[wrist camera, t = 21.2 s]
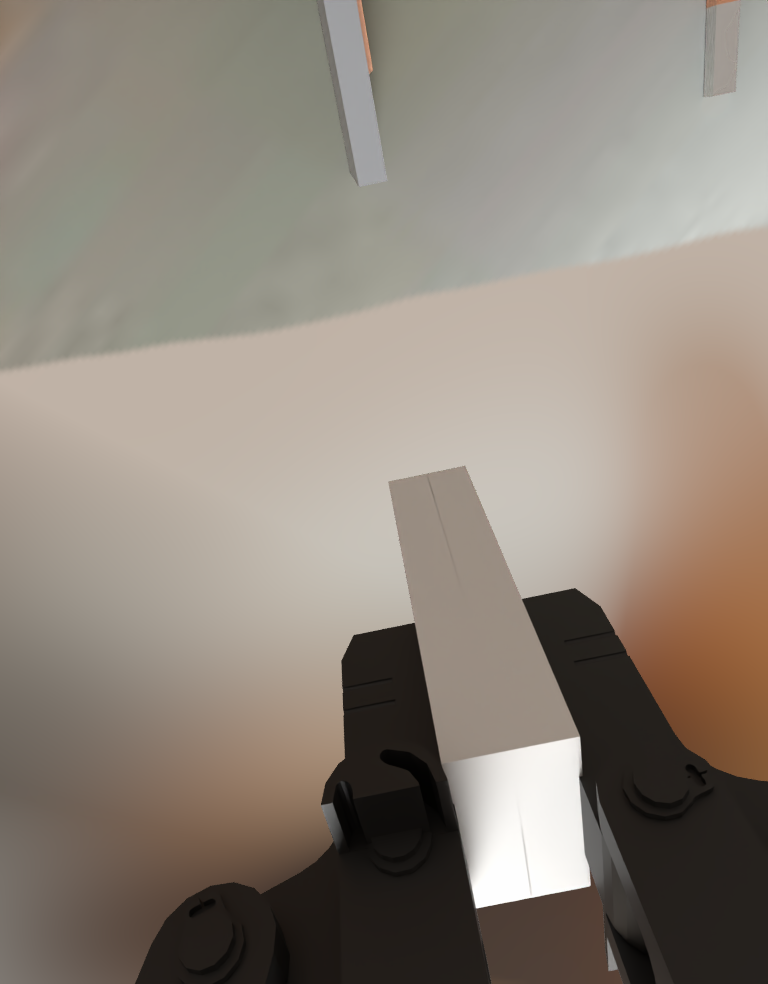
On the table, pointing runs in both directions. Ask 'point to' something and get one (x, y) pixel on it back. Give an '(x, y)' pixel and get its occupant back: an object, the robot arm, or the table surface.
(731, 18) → the front rail
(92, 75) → the table surface
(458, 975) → the robot arm
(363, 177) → the panel board
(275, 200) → the table surface
